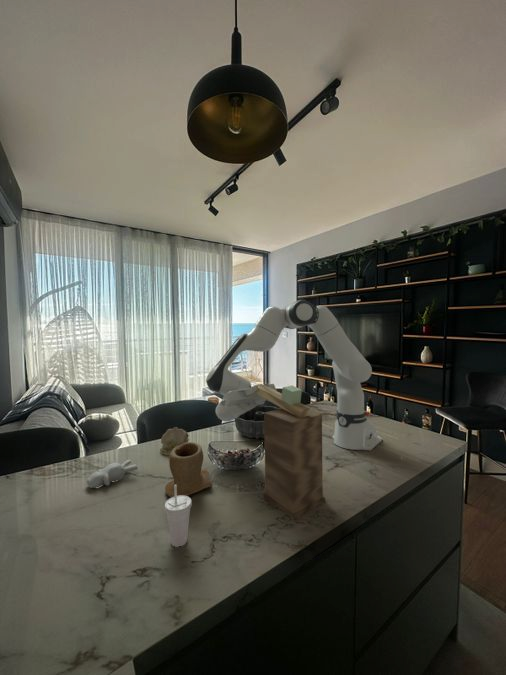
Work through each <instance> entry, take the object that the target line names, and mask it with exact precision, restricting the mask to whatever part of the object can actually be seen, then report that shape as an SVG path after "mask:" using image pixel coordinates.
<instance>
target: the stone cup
mask: <svg viewBox="0 0 506 675" xmlns="http://www.w3.org/2000/svg"><path fill="white" fill-rule="evenodd" d="M168 457H169V461H168V462H169V465H168V466H169V469H170V470H169V471H170V472H171V475H172V478H173V480H171V481H169V482H168V483H166V484H165V487H164V491H165V493H166V494H167V496H168V497H170V498H172V497H175V495H174V485H177V496H179V495H184V496H188V497H189V496H190V495H193V494H195V493H198V492H200V491H202V490H204V489H207V488H209V487H211V486H212V485H213V482H212V480H211V477H210V471H209V470H208V469H206V468H205V469H203V470H202V467H203V462H204V451H203V448H202V446H201V445H200V443H197V442H194V441H192V442H190V441H188V443H183V444H181V445H179V446H177V447H175V448H174V449H173V450H172V451H171V453H170V455H169V456H168Z"/></svg>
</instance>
